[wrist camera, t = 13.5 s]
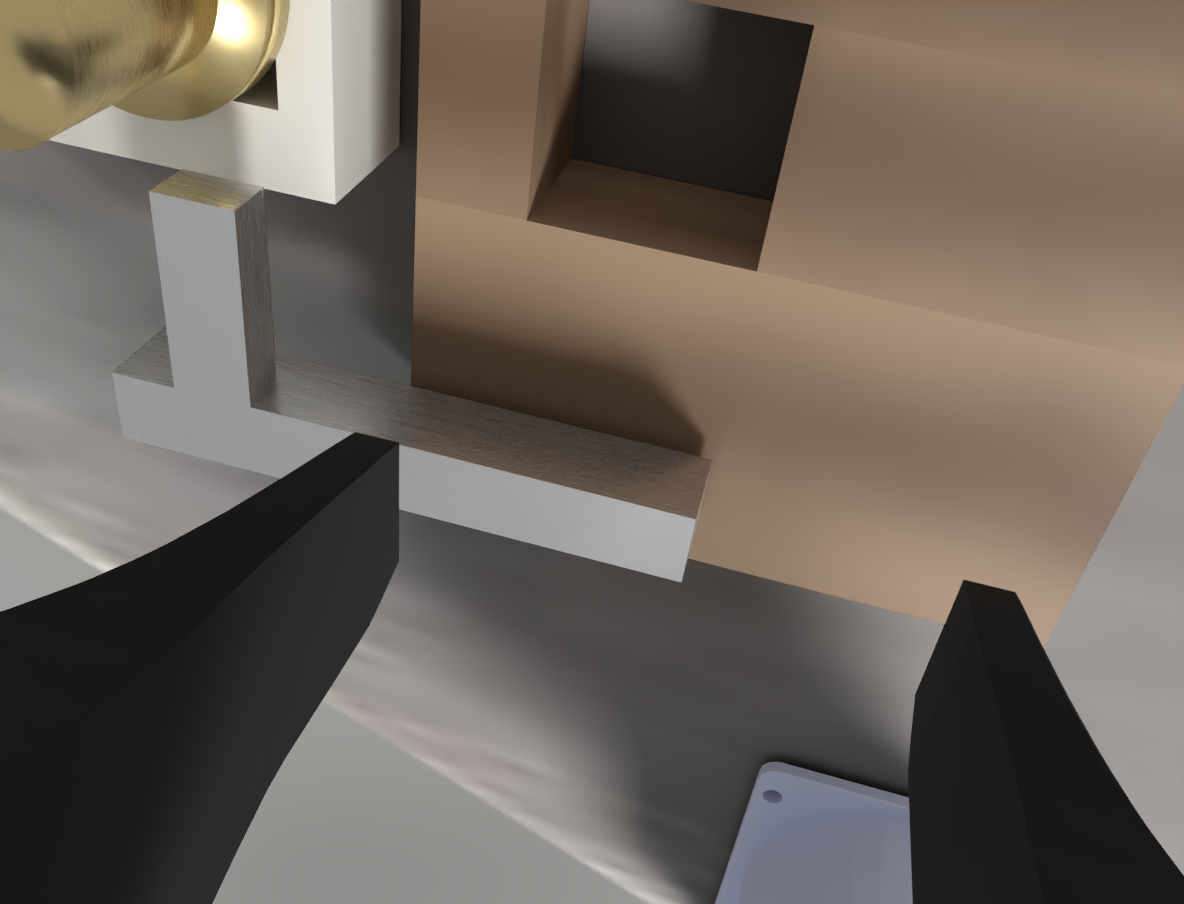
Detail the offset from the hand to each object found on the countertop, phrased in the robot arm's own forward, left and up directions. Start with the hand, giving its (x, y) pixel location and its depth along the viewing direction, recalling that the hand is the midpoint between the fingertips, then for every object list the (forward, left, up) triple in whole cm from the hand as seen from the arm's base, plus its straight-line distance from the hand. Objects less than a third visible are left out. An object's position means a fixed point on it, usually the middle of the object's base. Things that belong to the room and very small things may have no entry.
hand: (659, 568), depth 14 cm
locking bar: (-1, +5, -6) cm, 8 cm away
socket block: (+1, -1, -9) cm, 9 cm away
